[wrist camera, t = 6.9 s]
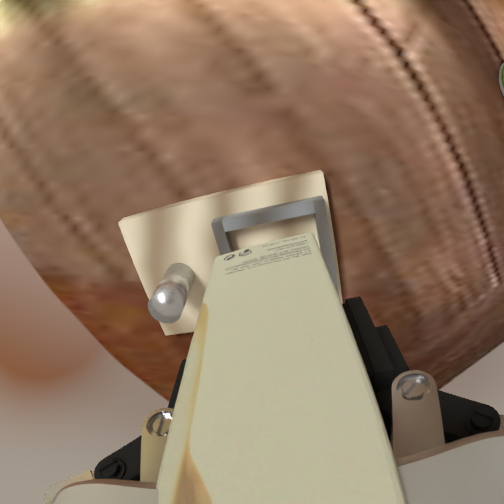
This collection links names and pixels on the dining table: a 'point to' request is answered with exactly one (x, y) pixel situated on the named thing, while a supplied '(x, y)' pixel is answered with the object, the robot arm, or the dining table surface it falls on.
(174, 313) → the steel pin
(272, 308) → the skincare box
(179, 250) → the board
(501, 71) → the supplement bottle
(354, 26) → the dining table surface
